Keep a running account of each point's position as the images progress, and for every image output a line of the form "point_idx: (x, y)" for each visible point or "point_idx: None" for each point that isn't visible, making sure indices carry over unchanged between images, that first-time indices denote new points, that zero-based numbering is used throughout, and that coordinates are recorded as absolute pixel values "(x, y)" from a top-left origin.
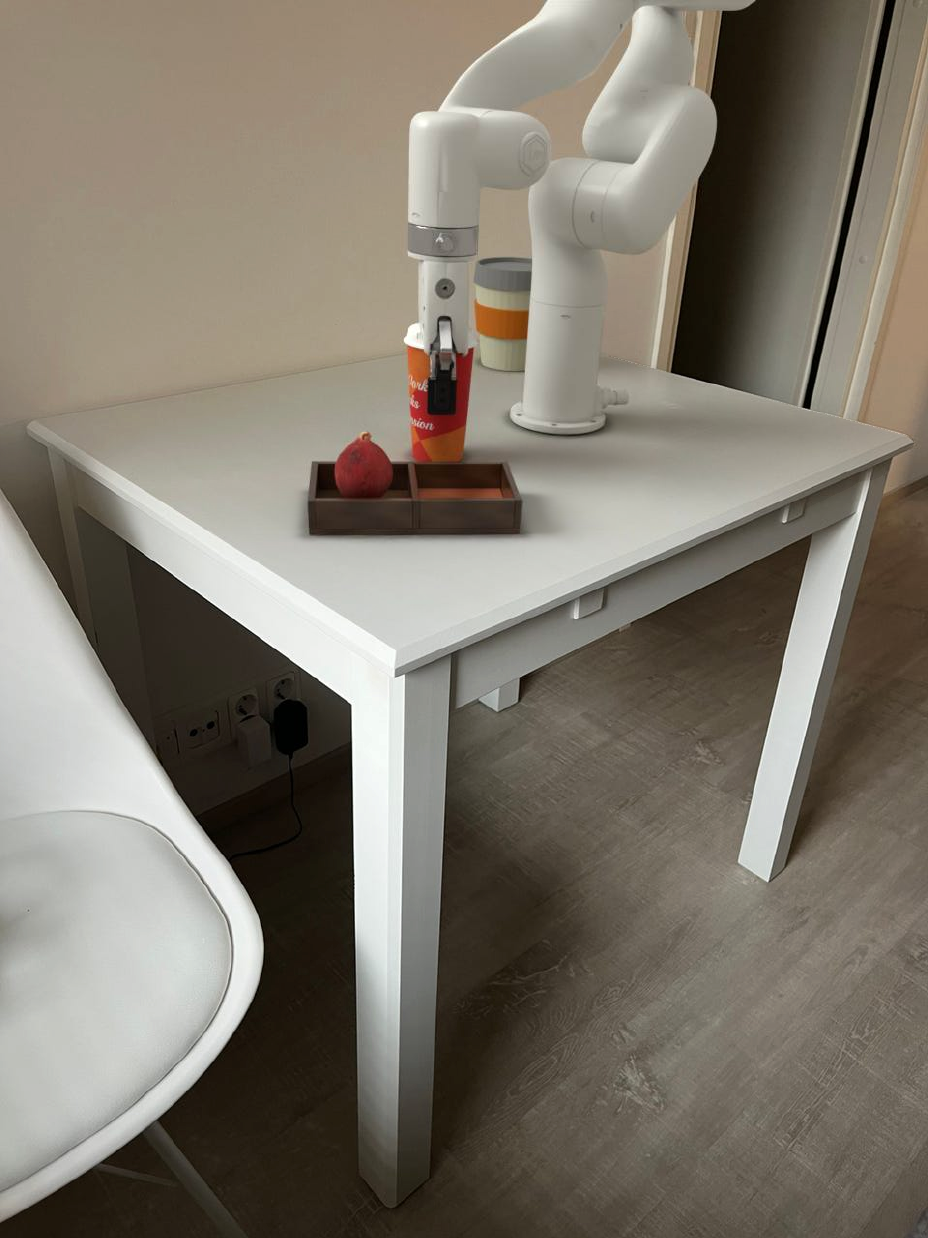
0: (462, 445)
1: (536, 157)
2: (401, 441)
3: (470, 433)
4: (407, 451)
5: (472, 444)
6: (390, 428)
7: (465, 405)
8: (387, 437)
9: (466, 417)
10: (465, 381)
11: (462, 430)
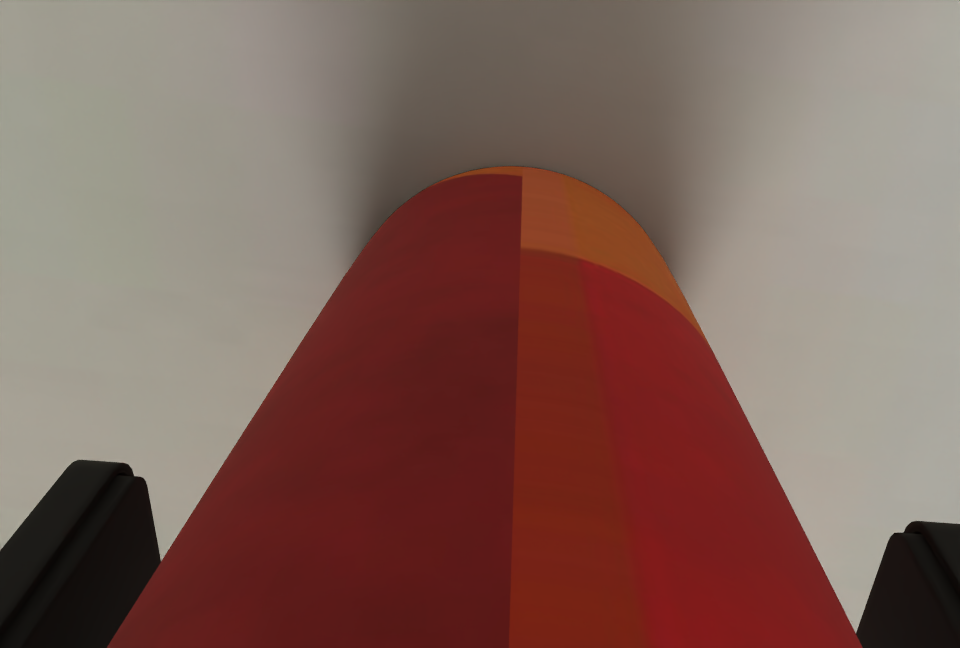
0: (610, 218)
1: None
2: None
3: (12, 23)
4: None
5: (260, 47)
6: (34, 495)
7: (692, 386)
8: None
9: (607, 287)
10: (828, 632)
11: (656, 283)
